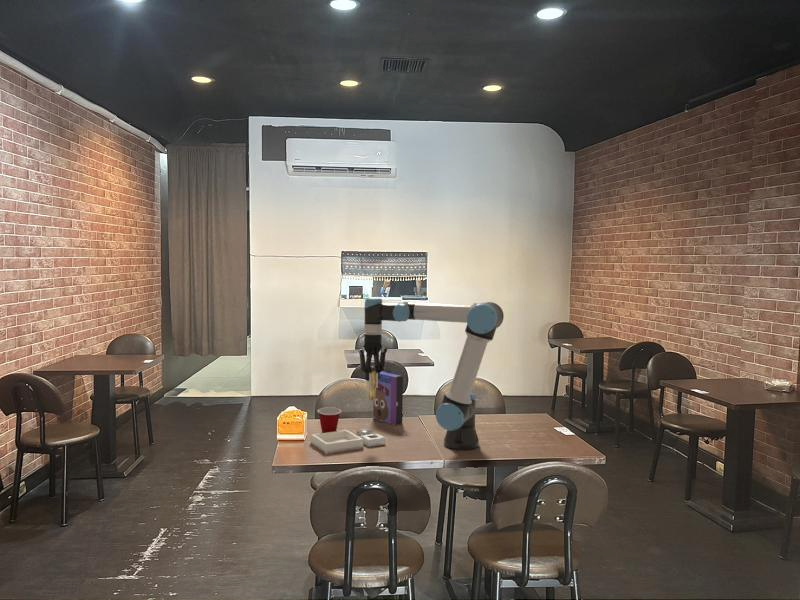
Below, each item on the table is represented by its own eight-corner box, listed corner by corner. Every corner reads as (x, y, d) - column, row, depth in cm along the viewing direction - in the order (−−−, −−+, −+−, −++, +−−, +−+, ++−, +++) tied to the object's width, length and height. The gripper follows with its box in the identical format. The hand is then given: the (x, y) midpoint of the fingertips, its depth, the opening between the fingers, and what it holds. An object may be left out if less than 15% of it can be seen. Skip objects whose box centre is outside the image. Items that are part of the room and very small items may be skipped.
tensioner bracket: (385, 444, 267) (385, 436, 267) (368, 446, 263) (368, 438, 263) (368, 435, 281) (368, 428, 281) (352, 437, 277) (352, 430, 277)
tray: (363, 448, 261) (363, 439, 260) (326, 453, 252) (326, 444, 252) (346, 438, 275) (346, 429, 275) (310, 443, 267) (311, 434, 267)
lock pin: (377, 400, 267) (378, 367, 266) (370, 400, 265) (370, 367, 264) (373, 398, 270) (374, 365, 269) (366, 399, 268) (367, 366, 267)
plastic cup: (323, 440, 272) (324, 413, 272) (313, 434, 281) (313, 408, 281) (345, 437, 278) (345, 410, 278) (334, 431, 287) (334, 406, 287)
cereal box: (373, 418, 314) (373, 372, 313) (380, 417, 317) (380, 371, 316) (394, 425, 300) (395, 376, 299) (402, 424, 303) (402, 375, 302)
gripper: (384, 332, 273) (384, 384, 274) (352, 333, 266) (352, 387, 267) (392, 333, 267) (392, 387, 268) (360, 335, 259) (359, 390, 260)
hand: (372, 387), depth 267 cm, fingers closed on lock pin, 2 cm apart
